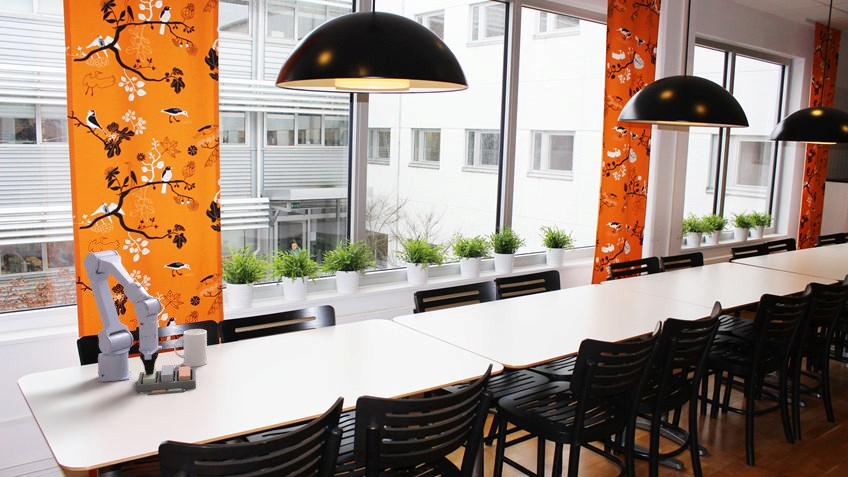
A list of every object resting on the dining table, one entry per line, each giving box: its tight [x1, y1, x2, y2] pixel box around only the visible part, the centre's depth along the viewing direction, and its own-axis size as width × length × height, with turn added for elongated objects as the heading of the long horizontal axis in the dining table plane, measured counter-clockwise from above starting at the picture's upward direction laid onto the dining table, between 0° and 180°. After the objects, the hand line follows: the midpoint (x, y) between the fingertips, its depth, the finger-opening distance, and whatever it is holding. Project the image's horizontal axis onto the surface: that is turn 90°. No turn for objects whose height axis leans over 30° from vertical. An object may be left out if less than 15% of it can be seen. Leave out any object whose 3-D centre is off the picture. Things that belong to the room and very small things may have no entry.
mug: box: [173, 328, 209, 368], centre depth 244 cm, size 12×8×12 cm
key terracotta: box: [178, 366, 191, 381], centre depth 226 cm, size 4×10×3 cm, turn 19°
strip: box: [147, 388, 186, 396], centre depth 217 cm, size 11×2×1 cm, turn 109°
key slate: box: [160, 364, 174, 383], centre depth 224 cm, size 4×10×3 cm, turn 19°
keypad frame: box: [136, 367, 197, 394], centre depth 224 cm, size 18×13×3 cm
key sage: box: [142, 368, 157, 384], centre depth 222 cm, size 4×10×3 cm, turn 19°
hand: (149, 374), depth 222 cm, fingers closed, pressing on key sage
